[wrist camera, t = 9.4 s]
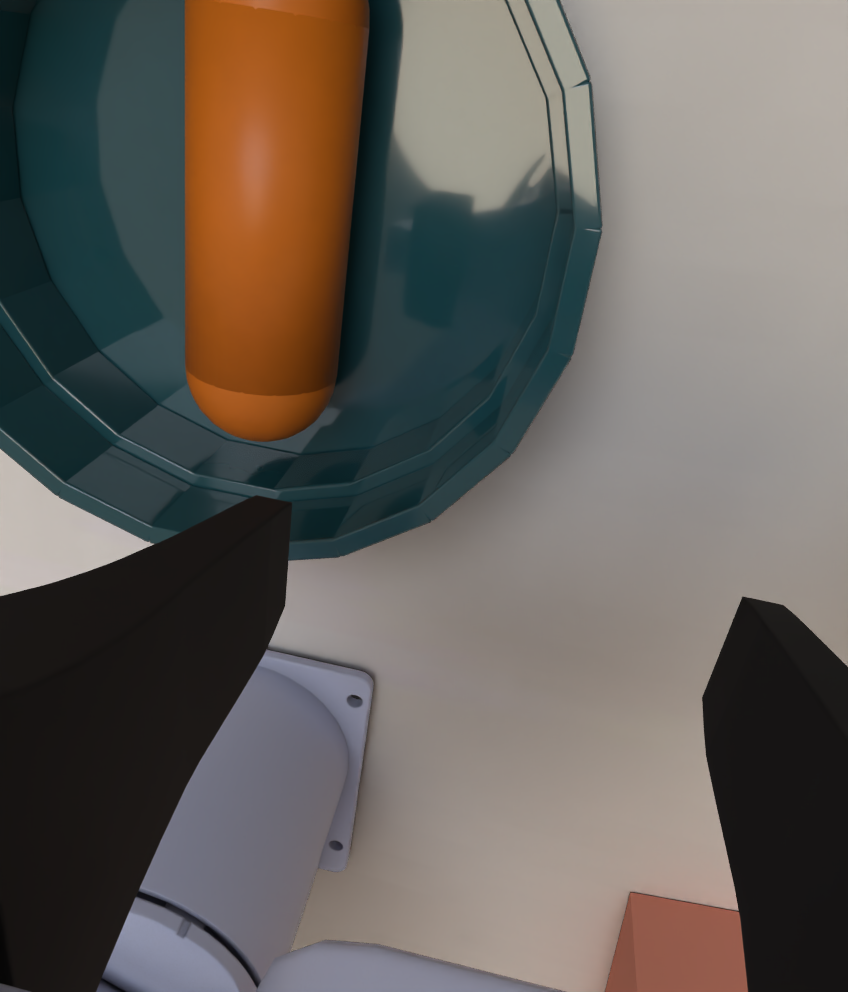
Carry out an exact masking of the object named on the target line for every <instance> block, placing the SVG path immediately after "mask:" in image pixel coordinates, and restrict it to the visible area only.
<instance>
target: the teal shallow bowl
mask: <svg viewBox="0 0 848 992" xmlns="http://www.w3.org/2000/svg"><path fill="white" fill-rule="evenodd" d="M368 2H369V9H370V12H369V38H368V49H367V60H366V71H365V81H364V92H363V103H362V114H361V124H360V135H359V146H358V156H357V167H356V178H355V189H354V199H353V210H352V221H351V231H350V242H349V253H348V264H347V274H346V285H345V296H344V307H343V317H342V328H341V339H340V349H339V360H338V371H337V378H336V383H335V388H334V392H333V395H332V397H331V399H330V402H329V404H328V406H327V407H326V408H325V410H324V411H323V412H322V414H321V415H320V416H319V418H318V419H317V420H316V421H315V422H314V423H312V424H311V425H310V426H309V427H308V428H306V429H305V430H303V431H301V432H300V433H298V434H296V435H294V436H291V437H289V438H286V439H282V440H276V441H269V442H257V441H250V440H246V439H242V438H239V437H236V436H233V435H231V434H229V433H227V432H225V431H224V430H222V429H221V428H219V427H218V426H216V425H215V424H213V423H212V422H211V421H210V420H209V419H208V417H207V416H206V415H205V414H204V413H203V412H202V411H201V410H200V408H199V407H198V405H197V403H196V402H195V400H194V398H193V396H192V394H191V391H190V388H189V385H188V382H187V378H186V368H185V0H0V449H1V450H2V451H4V452H5V453H6V454H7V455H8V456H9V457H11V458H12V459H13V460H14V461H15V462H17V463H18V464H19V465H20V466H21V467H23V468H24V469H25V470H26V471H27V472H29V473H30V474H31V475H32V476H33V477H34V478H36V479H37V480H38V481H39V482H40V483H42V484H43V485H44V486H45V487H46V488H48V489H49V490H50V491H51V492H52V493H54V494H55V495H56V496H59V498H61V499H63V500H65V501H67V502H69V503H71V504H73V505H75V506H77V507H79V508H81V509H83V510H85V511H87V512H89V513H91V514H93V515H95V516H97V517H99V518H101V519H103V520H105V521H107V522H109V523H111V524H113V525H115V526H117V527H119V528H121V529H123V530H125V531H127V532H129V533H131V534H133V535H135V536H137V537H139V538H141V539H142V540H144V541H146V542H149V541H150V543H152V544H156V543H159V542H161V541H163V540H166V539H168V538H170V537H172V536H174V535H176V534H178V533H180V532H182V531H184V530H186V529H188V528H190V527H192V526H194V525H196V524H198V523H200V522H202V521H204V520H206V519H208V518H210V517H212V516H214V515H216V514H218V513H220V512H222V511H224V510H226V509H228V508H230V507H232V506H234V505H236V504H238V503H240V502H242V501H244V500H246V499H248V498H251V497H253V496H256V495H258V496H263V497H267V498H272V499H277V500H282V501H287V502H291V503H292V514H291V528H290V542H289V557H288V561H290V560H305V559H321V558H336V557H340V556H345V555H348V554H350V553H353V552H355V551H358V550H360V549H363V548H366V547H368V546H371V545H373V544H376V543H378V542H381V541H384V540H386V539H389V538H391V537H394V536H396V535H399V534H402V533H404V532H407V531H409V530H412V529H414V528H417V527H420V526H422V525H425V524H427V523H430V522H431V521H433V520H435V519H436V518H437V517H438V516H440V515H441V514H442V513H443V512H444V511H446V510H447V509H448V508H449V507H450V506H452V505H453V504H454V503H455V502H456V501H458V500H459V499H460V498H461V497H462V496H464V495H465V494H466V493H467V492H468V491H470V490H471V489H472V488H473V487H474V486H476V485H477V484H478V483H479V482H480V481H482V480H483V479H484V478H485V477H486V476H488V475H489V474H490V473H491V472H492V471H494V470H495V469H496V468H497V467H498V466H500V465H501V464H502V463H503V462H504V461H506V460H507V459H508V458H509V457H510V456H511V454H512V453H514V451H515V450H516V448H517V447H518V445H519V443H520V442H521V440H522V438H523V437H524V435H525V433H526V432H527V430H528V429H529V427H530V425H531V424H532V422H533V420H534V419H535V417H536V416H537V414H538V412H539V411H540V409H541V407H542V406H543V404H544V402H545V401H546V399H547V398H548V396H549V394H550V393H551V391H552V389H553V388H554V386H555V385H556V383H557V381H558V380H559V378H560V376H561V375H562V373H563V371H564V370H565V368H566V367H567V365H568V363H569V362H570V360H571V356H572V355H573V353H574V349H575V344H576V340H577V336H578V332H579V328H580V323H581V319H582V315H583V311H584V306H585V302H586V298H587V294H588V289H589V285H590V281H591V277H592V273H593V268H594V264H595V260H596V256H597V251H598V247H599V243H600V239H601V234H602V229H601V228H602V212H601V199H600V185H599V172H598V158H597V145H596V131H595V118H594V104H593V91H592V84H591V82H589V81H590V75H589V72H588V70H587V67H586V65H585V62H584V60H583V57H582V55H581V52H580V50H579V47H578V44H577V42H576V39H575V37H574V34H573V32H572V29H571V27H570V24H569V22H568V19H567V17H566V14H565V12H564V9H563V6H562V4H561V1H560V0H368Z"/></svg>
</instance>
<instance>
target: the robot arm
mask: <svg viewBox="0 0 848 992" xmlns="http://www.w3.org/2000/svg"><path fill="white" fill-rule="evenodd" d="M291 514H292V503H291V502H287V501H282V500H277V499H272V498H267V497H263V496H258V495H256V496H253V497H251V498H248V499H246V500H244V501H242V502H240V503H238V504H236V505H234V506H232V507H230V508H228V509H226V510H224V511H222V512H220V513H218V514H216V515H214V516H212V517H210V518H208V519H206V520H204V521H202V522H200V523H198V524H196V525H194V526H192V527H190V528H188V529H186V530H184V531H182V532H180V533H178V534H176V535H174V536H172V537H170V538H168V539H166V540H163V541H161V542H159V543H156V544H154V545H152V546H150V547H147V548H145V549H143V550H140V551H138V552H136V553H133V554H131V555H129V556H127V557H124V558H122V559H120V560H117V561H115V562H112V563H110V564H107V565H104V566H102V567H99V568H96V569H93V570H91V571H88V572H85V573H82V574H79V575H76V576H73V577H70V578H66V579H63V580H60V581H57V582H54V583H51V584H47V585H44V586H40V587H36V588H32V589H28V590H24V591H20V592H16V593H12V594H8V595H4V596H0V992H565V991H561V990H557V989H553V988H549V987H545V986H541V985H537V984H533V983H529V982H525V981H522V980H518V979H514V978H510V977H506V976H502V975H498V974H494V973H490V972H486V971H482V970H478V969H474V968H470V967H466V966H462V965H459V964H455V963H451V962H447V961H443V960H439V959H435V958H431V957H427V956H423V955H419V954H415V953H411V952H407V951H403V950H400V949H396V948H392V947H388V946H384V945H380V944H372V943H360V942H348V941H336V940H324V941H321V942H318V943H315V944H312V945H309V946H307V947H304V948H301V949H298V950H295V951H292V952H290V951H291V948H292V945H293V942H294V939H295V936H296V933H297V930H298V927H299V924H300V921H301V918H302V915H303V912H304V909H305V906H306V903H307V900H308V897H309V894H310V891H311V887H312V884H313V881H314V878H315V875H316V872H317V869H318V868H320V869H324V870H328V871H332V872H340V871H343V870H344V869H346V866H347V863H348V860H349V854H350V847H351V840H352V833H353V826H354V819H355V812H356V805H357V798H358V791H359V784H360V777H361V771H362V764H363V757H364V750H365V743H366V736H367V729H368V722H369V715H370V708H371V701H372V694H373V687H374V685H373V680H372V678H371V677H370V676H369V675H368V674H367V673H365V672H362V671H360V670H355V669H351V668H346V667H342V666H337V665H333V664H328V663H324V662H320V661H315V660H311V659H306V658H302V657H297V656H293V655H288V654H284V653H280V652H275V651H271V650H266V649H267V647H268V645H269V643H270V640H271V638H272V636H273V634H274V631H275V629H276V626H277V624H278V621H279V619H280V617H281V614H282V612H283V609H284V607H285V599H286V585H287V571H288V557H289V542H290V528H291ZM351 695H356V696H359V697H360V698H361V699H355V698H353V697H352V696H351ZM702 701H703V721H704V736H705V748H706V757H707V762H708V767H709V772H710V777H711V782H712V786H713V791H714V796H715V800H716V805H717V810H718V814H719V819H720V823H721V828H722V832H723V837H724V841H725V846H726V850H727V855H728V859H729V864H730V868H731V873H732V877H733V882H734V886H735V892H736V897H737V903H738V909H739V915H740V921H741V930H742V940H743V949H744V958H745V968H746V977H747V986H748V992H848V667H847V666H846V665H845V664H844V663H843V662H842V661H841V660H840V659H839V658H838V657H837V656H836V655H835V654H834V653H833V652H832V651H831V650H830V649H829V648H828V647H827V646H826V645H825V644H824V643H823V642H822V641H821V640H820V639H819V638H818V637H817V636H816V635H815V634H814V633H813V632H812V631H811V630H810V629H809V628H808V627H807V626H806V625H805V624H804V623H803V622H802V621H801V620H800V619H799V618H798V617H796V616H795V615H794V614H793V613H792V612H791V611H790V610H788V609H787V608H786V607H785V606H784V605H781V604H776V603H771V602H766V601H762V600H757V599H752V598H747V597H742V599H741V602H740V604H739V607H738V609H737V612H736V614H735V617H734V619H733V622H732V624H731V627H730V629H729V632H728V634H727V637H726V639H725V642H724V644H723V647H722V649H721V652H720V654H719V657H718V659H717V662H716V664H715V667H714V669H713V672H712V674H711V677H710V679H709V682H708V684H707V687H706V689H705V692H704V694H703V697H702Z"/></svg>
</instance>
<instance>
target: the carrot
mask: <svg viewBox="0 0 848 992" xmlns="http://www.w3.org/2000/svg"><path fill="white" fill-rule="evenodd" d="M369 12H370V9H369V2H368V0H185V368H186V378H187V382H188V385H189V388H190V391H191V394H192V396H193V398H194V400H195V402H196V403H197V405H198V407H199V408H200V410H201V411H202V412H203V413H204V414H205V415H206V416H207V417H208V419H209V420H210V421H211V422H212V423H213V424H215V425H216V426H218V427H219V428H221V429H222V430H224V431H225V432H227V433H229V434H231V435H233V436H236V437H239V438H242V439H246V440H250V441H257V442H269V441H276V440H282V439H286V438H289V437H291V436H294V435H296V434H298V433H300V432H301V431H303V430H305V429H306V428H308V427H309V426H310V425H311V424H312V423H314V422H315V421H316V420H317V419H318V418H319V416H320V415H321V414H322V412H323V411H324V410H325V408H326V407H327V406H328V404H329V402H330V399H331V397H332V395H333V392H334V388H335V383H336V378H337V371H338V360H339V349H340V339H341V328H342V317H343V307H344V296H345V285H346V274H347V264H348V253H349V242H350V231H351V221H352V210H353V199H354V189H355V178H356V167H357V156H358V146H359V135H360V124H361V114H362V103H363V92H364V81H365V71H366V60H367V49H368V38H369Z"/></svg>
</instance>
